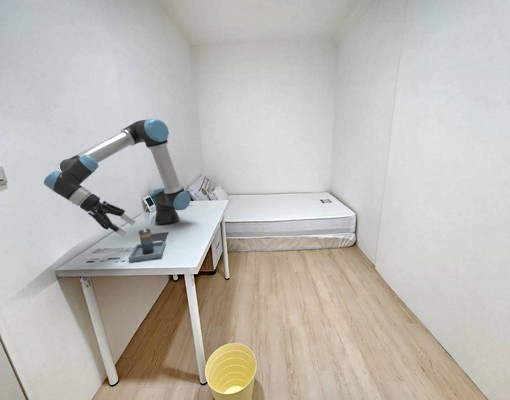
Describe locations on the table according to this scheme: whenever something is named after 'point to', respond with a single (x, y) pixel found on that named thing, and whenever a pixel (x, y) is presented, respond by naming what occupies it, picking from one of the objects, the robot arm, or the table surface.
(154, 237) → the dark grey pad
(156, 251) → the tray
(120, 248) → the table surface
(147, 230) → the battery cell
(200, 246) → the table surface
